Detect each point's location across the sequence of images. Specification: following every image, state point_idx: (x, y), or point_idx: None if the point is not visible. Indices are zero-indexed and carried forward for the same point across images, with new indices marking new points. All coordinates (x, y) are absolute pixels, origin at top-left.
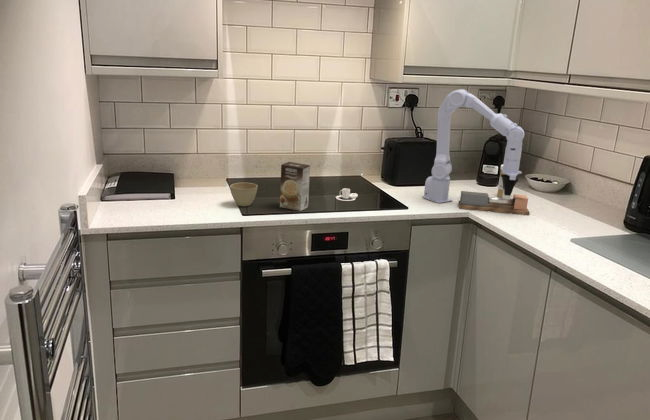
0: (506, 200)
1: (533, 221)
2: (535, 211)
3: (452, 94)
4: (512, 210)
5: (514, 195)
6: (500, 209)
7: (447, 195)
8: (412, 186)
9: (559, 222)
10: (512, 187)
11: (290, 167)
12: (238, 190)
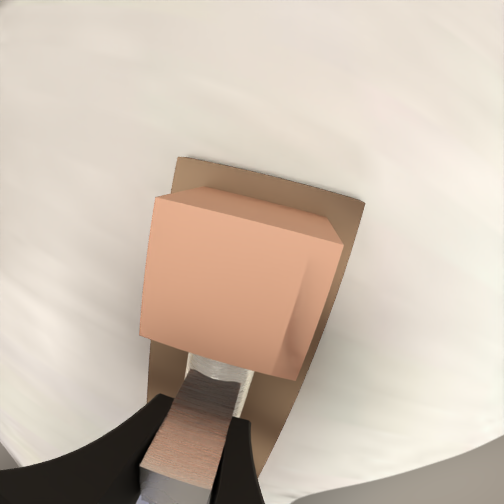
0: (241, 398)
1: (488, 241)
2: (235, 90)
3: None
4: (316, 333)
5: (193, 352)
6: (291, 401)
7: None
8: (20, 465)
9: (491, 64)
10: (257, 502)
11: None
12: None
